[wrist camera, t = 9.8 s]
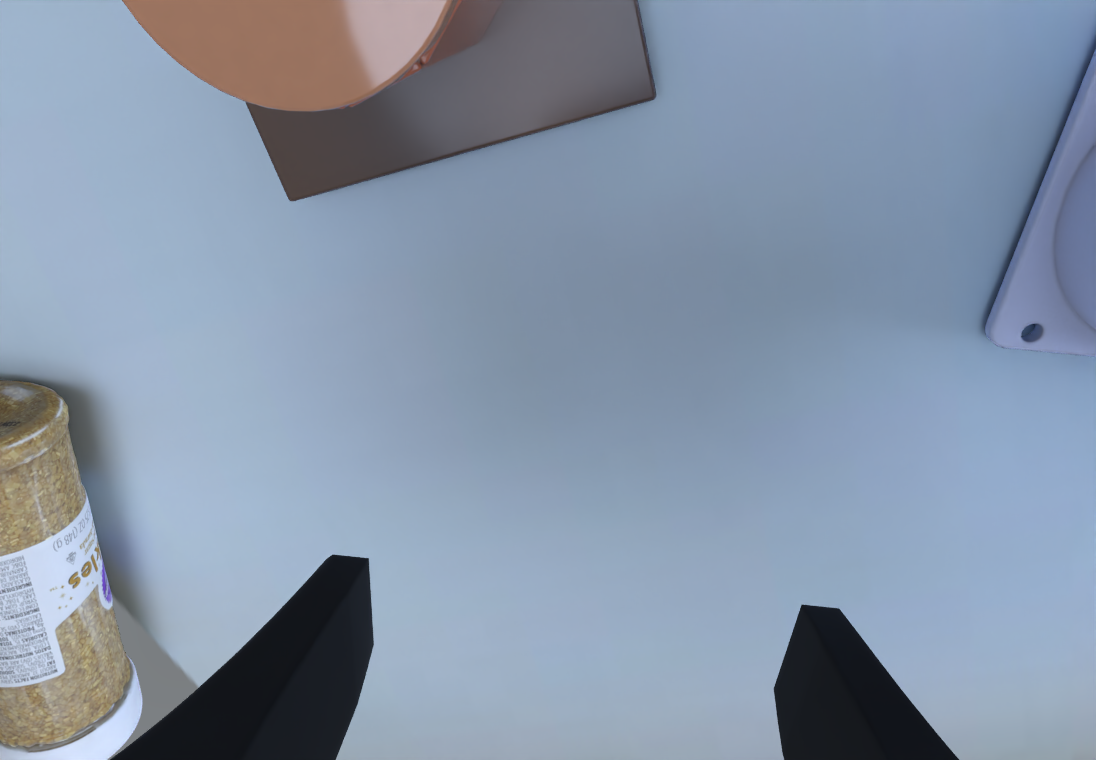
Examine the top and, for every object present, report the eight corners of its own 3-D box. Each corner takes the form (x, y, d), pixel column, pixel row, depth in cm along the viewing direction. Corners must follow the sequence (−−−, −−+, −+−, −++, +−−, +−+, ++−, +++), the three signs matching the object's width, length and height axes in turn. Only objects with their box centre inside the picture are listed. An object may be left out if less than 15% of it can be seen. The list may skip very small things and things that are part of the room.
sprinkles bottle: (82, 369, 23) (154, 666, 29) (-97, 378, 21) (20, 687, 28) (39, 455, 19) (132, 774, 25) (-182, 471, 17) (-24, 804, 24)
